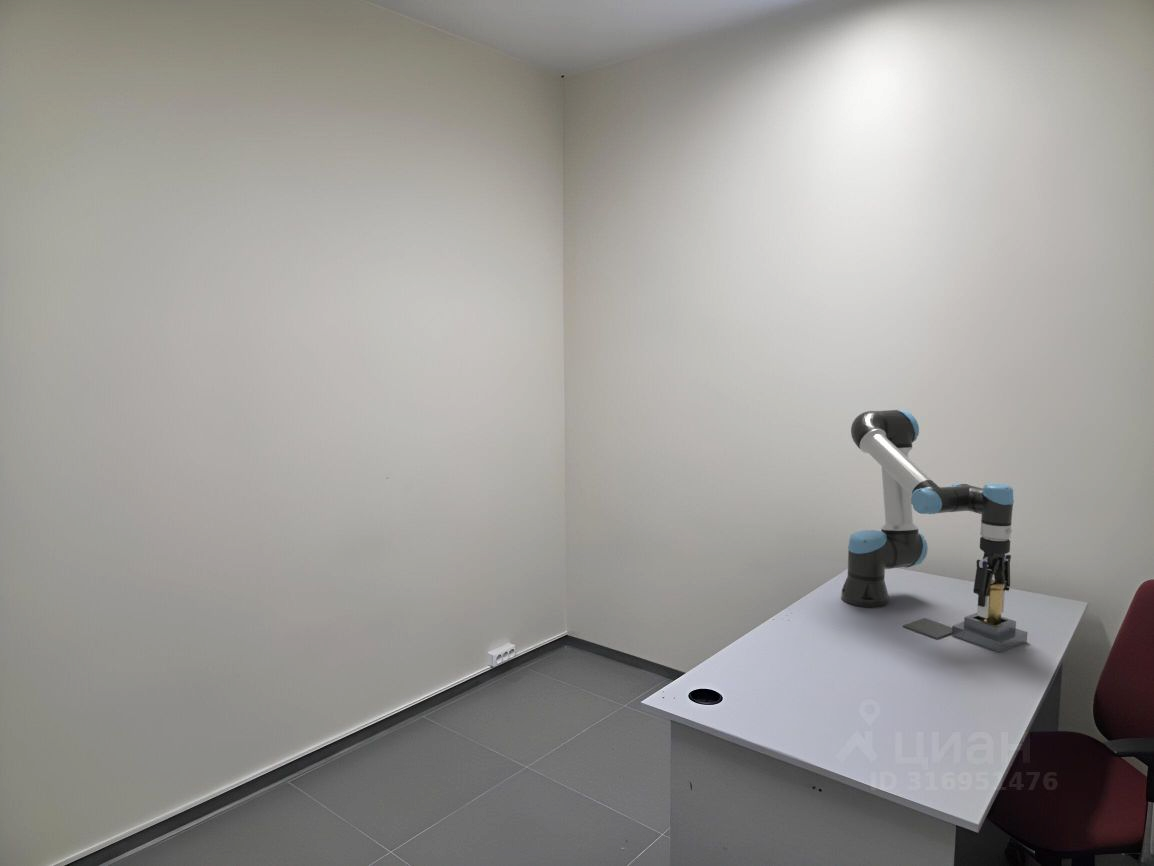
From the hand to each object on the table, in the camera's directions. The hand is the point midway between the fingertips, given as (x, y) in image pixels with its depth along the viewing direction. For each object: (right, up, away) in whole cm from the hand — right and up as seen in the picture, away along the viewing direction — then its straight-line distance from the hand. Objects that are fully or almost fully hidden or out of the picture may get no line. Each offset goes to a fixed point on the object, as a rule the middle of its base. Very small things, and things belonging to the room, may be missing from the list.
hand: (990, 613), depth 202 cm
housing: (0, -8, +1) cm, 8 cm away
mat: (-13, -7, +8) cm, 17 cm away
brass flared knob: (0, -5, +1) cm, 5 cm away
